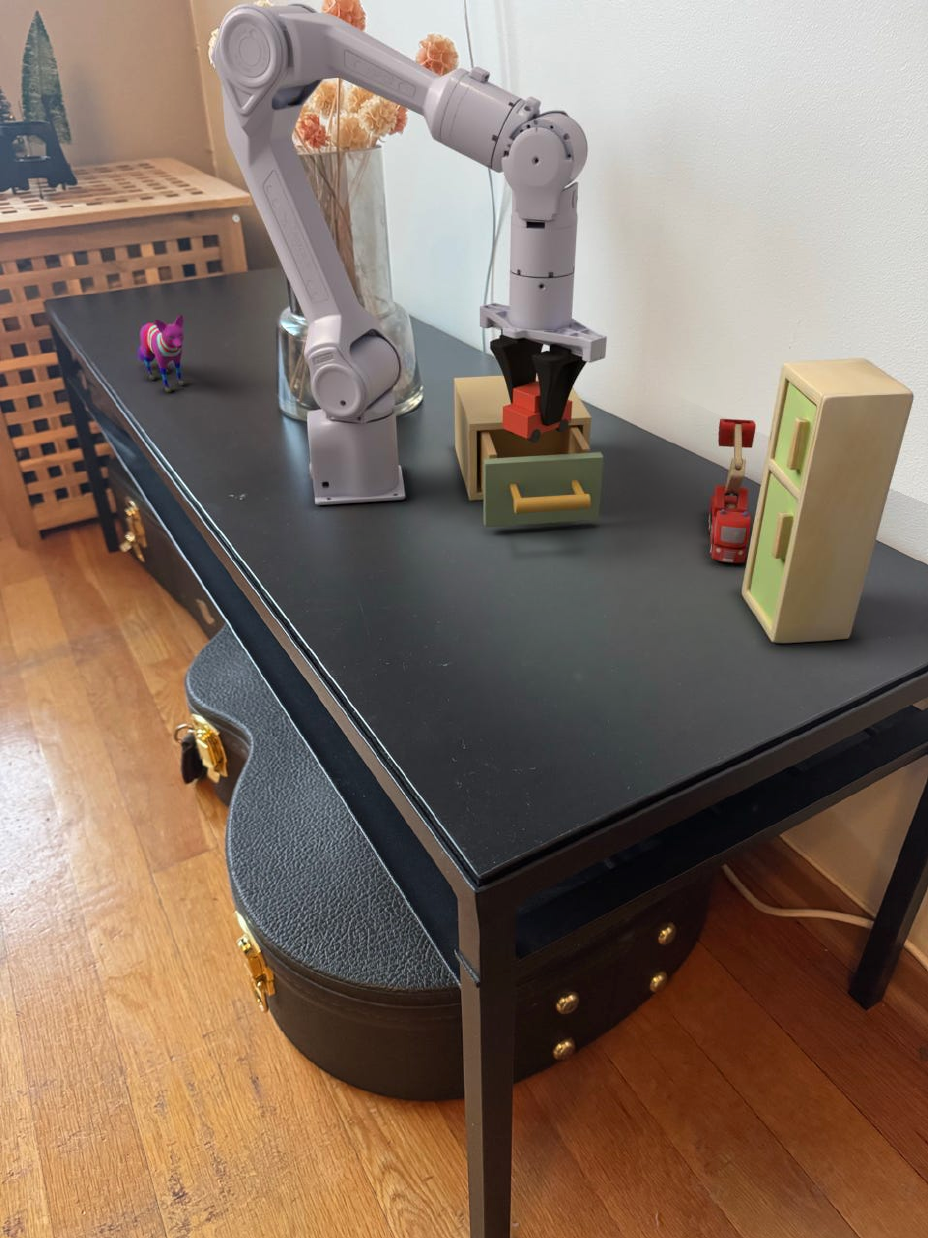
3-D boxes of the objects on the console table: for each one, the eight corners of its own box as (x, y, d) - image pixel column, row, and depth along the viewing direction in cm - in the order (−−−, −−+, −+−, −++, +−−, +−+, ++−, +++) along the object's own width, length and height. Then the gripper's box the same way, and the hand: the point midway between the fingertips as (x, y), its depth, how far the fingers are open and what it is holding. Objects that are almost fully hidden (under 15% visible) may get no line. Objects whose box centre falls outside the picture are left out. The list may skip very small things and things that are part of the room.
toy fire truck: (709, 565, 84) (725, 470, 79) (706, 499, 95) (720, 412, 90) (746, 568, 84) (764, 473, 78) (739, 502, 95) (755, 414, 89)
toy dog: (177, 402, 120) (162, 324, 114) (131, 367, 132) (115, 294, 126) (204, 396, 122) (190, 319, 116) (156, 361, 134) (141, 290, 128)
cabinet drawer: (610, 543, 86) (616, 478, 82) (491, 551, 85) (492, 485, 81) (571, 467, 100) (575, 408, 96) (469, 473, 99) (469, 414, 95)
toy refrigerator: (730, 593, 80) (773, 360, 68) (810, 588, 81) (867, 356, 69) (762, 646, 74) (816, 398, 62) (849, 640, 74) (920, 393, 62)
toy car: (527, 446, 86) (528, 400, 83) (501, 434, 88) (502, 390, 85) (571, 429, 89) (574, 385, 86) (545, 419, 91) (547, 375, 89)
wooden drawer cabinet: (586, 493, 97) (591, 417, 92) (469, 500, 96) (468, 423, 91) (560, 442, 108) (563, 372, 103) (455, 448, 107) (454, 377, 102)
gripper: (454, 263, 82) (456, 406, 90) (570, 294, 73) (561, 450, 81) (511, 250, 86) (508, 389, 94) (627, 279, 77) (614, 430, 85)
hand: (536, 416), depth 88 cm, fingers closed on toy car, 3 cm apart
